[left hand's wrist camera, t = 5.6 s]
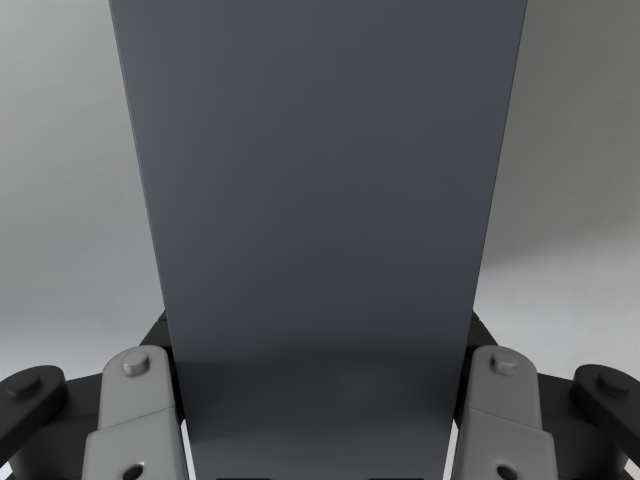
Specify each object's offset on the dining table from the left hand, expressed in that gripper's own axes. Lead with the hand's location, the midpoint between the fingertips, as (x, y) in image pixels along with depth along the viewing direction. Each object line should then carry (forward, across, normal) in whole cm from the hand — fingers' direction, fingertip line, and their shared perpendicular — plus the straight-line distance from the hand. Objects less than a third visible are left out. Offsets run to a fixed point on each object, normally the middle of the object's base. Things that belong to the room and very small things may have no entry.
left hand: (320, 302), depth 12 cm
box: (+4, 0, +8) cm, 10 cm away
